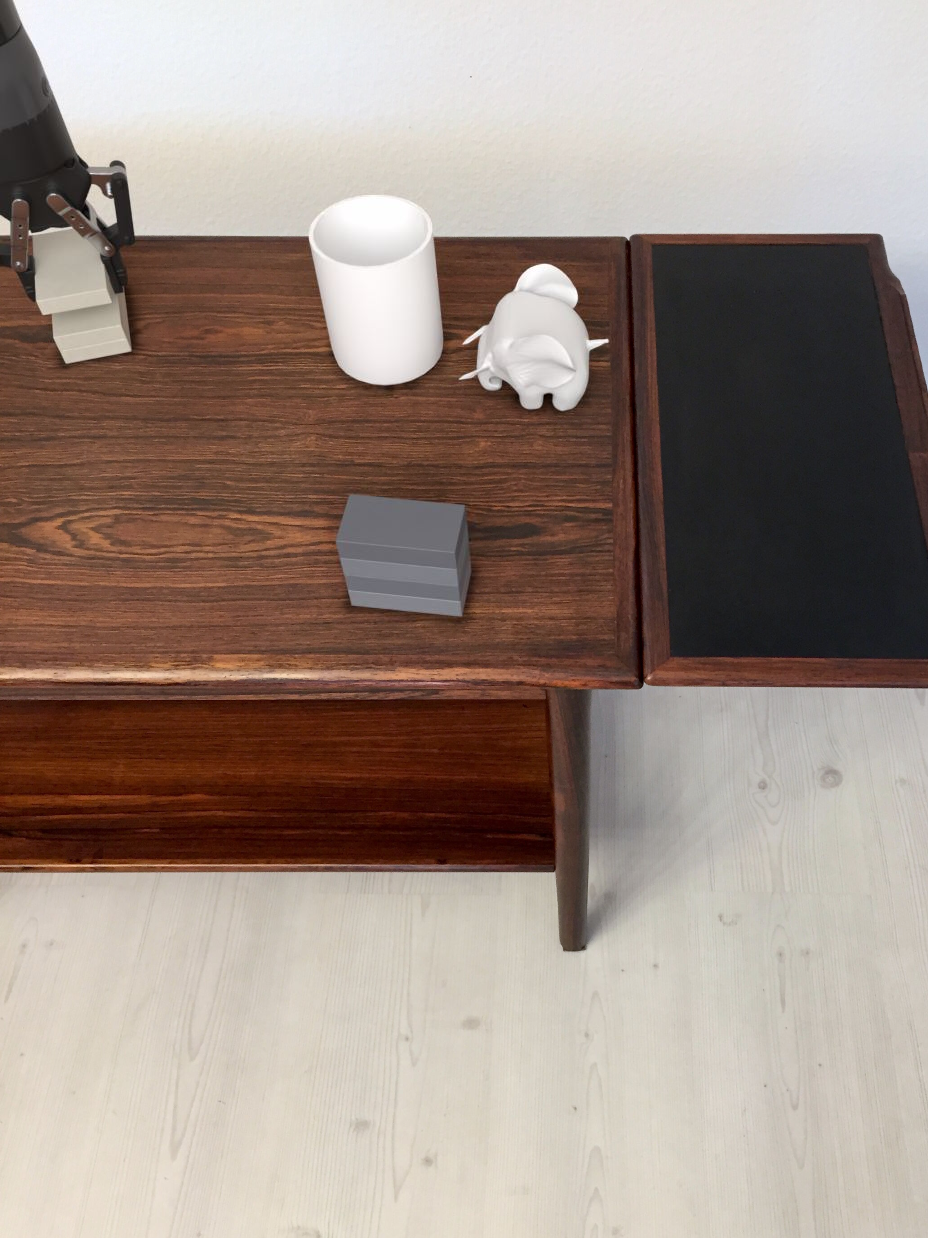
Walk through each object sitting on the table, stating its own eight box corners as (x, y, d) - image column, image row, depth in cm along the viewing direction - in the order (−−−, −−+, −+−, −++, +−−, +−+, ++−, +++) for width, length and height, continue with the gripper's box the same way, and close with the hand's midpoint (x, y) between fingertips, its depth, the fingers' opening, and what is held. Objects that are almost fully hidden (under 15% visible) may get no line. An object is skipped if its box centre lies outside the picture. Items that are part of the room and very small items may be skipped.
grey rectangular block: (351, 605, 76) (334, 540, 70) (364, 560, 78) (349, 493, 72) (462, 617, 75) (454, 552, 69) (471, 570, 77) (465, 504, 71)
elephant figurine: (466, 346, 91) (459, 257, 84) (605, 349, 91) (610, 260, 83) (457, 425, 86) (449, 337, 78) (605, 429, 85) (611, 340, 78)
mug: (327, 389, 88) (301, 269, 78) (343, 297, 95) (320, 175, 85) (441, 389, 88) (428, 269, 78) (448, 297, 95) (437, 175, 85)
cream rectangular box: (132, 351, 90) (121, 325, 88) (65, 364, 90) (53, 337, 87) (124, 287, 95) (113, 260, 93) (60, 298, 94) (48, 271, 92)
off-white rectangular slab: (38, 249, 90) (32, 234, 89) (104, 238, 91) (99, 223, 90) (42, 315, 85) (35, 301, 84) (112, 302, 86) (106, 288, 85)
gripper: (96, 55, 79) (164, 252, 93) (-108, 85, 77) (-7, 283, 91) (103, 108, 75) (173, 306, 89) (-112, 140, 73) (-5, 338, 87)
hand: (82, 293), depth 90 cm, fingers closed on off-white rectangular slab, 5 cm apart
